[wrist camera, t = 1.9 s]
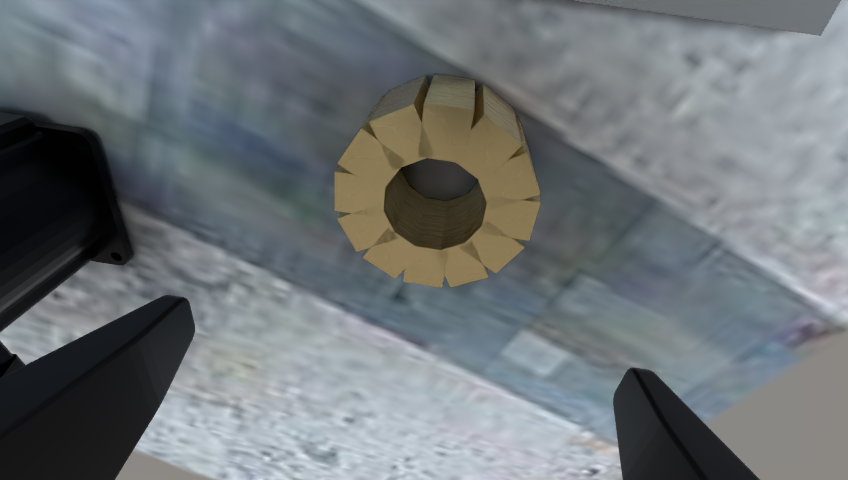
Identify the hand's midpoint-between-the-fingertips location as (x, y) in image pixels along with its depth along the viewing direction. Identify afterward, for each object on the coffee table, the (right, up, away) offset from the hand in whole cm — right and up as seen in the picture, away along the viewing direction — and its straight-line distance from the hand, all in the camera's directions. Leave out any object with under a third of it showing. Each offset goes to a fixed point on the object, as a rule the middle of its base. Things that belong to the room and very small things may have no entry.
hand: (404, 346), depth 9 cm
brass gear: (+1, +5, +8) cm, 9 cm away
